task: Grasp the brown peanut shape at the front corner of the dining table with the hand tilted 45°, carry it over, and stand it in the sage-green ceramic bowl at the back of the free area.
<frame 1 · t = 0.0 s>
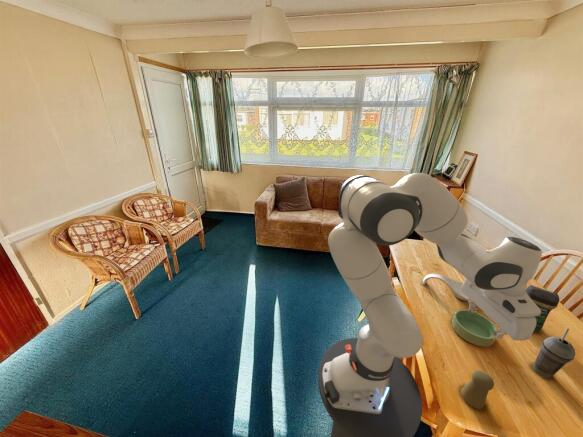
hand: (483, 323, 72), 22 cm above the table, tool pointing down, fingers open, 8 cm apart
beverage cup: (541, 371, 80), on the table
brown peanut shape: (472, 398, 72), on the table
coffee jar: (524, 324, 98), on the table
bowl: (471, 331, 94), on the table
spoon rest: (448, 292, 116), on the table
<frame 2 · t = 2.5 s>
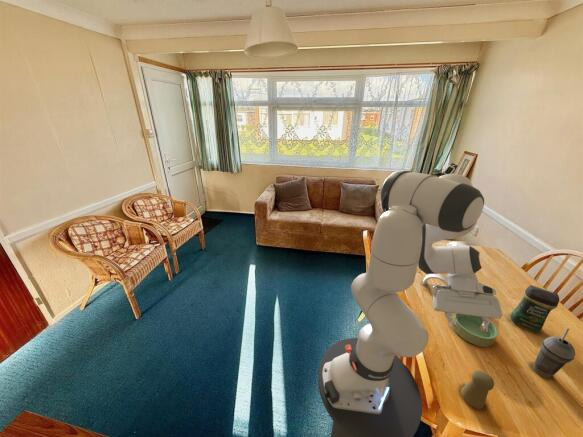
hand: (468, 329, 77), 16 cm above the table, tool tilted 45°, fingers open, 8 cm apart
nothing on the table moved.
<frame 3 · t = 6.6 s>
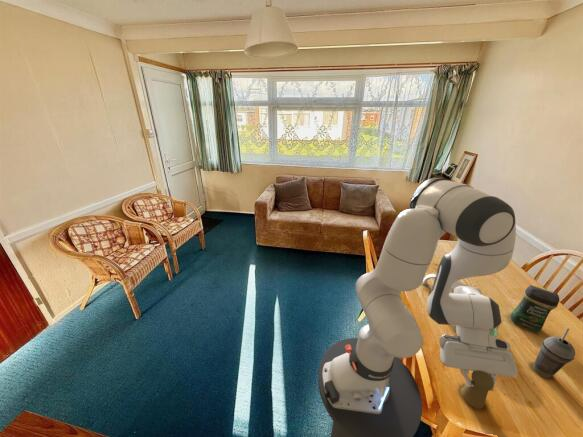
hand: (480, 388, 69), 6 cm above the table, tool tilted 45°, fingers closed on brown peanut shape, 4 cm apart
brown peanut shape: (471, 398, 72), on the table, touching gripper
everything else where it was.
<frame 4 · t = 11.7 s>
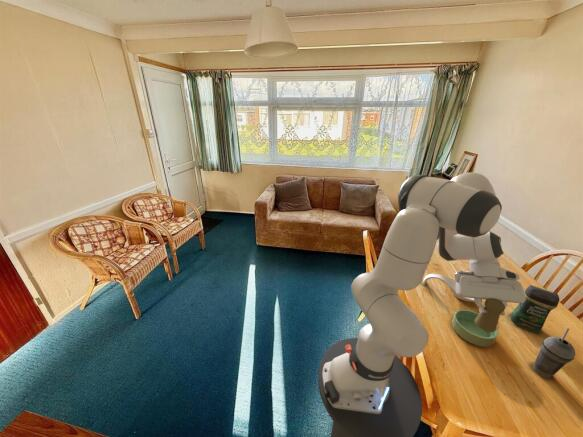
hand: (492, 313, 78), 20 cm above the table, tool tilted 45°, fingers closed on brown peanut shape, 4 cm apart
brown peanut shape: (484, 325, 81), point 14 cm above the table, touching gripper
everything else where it was.
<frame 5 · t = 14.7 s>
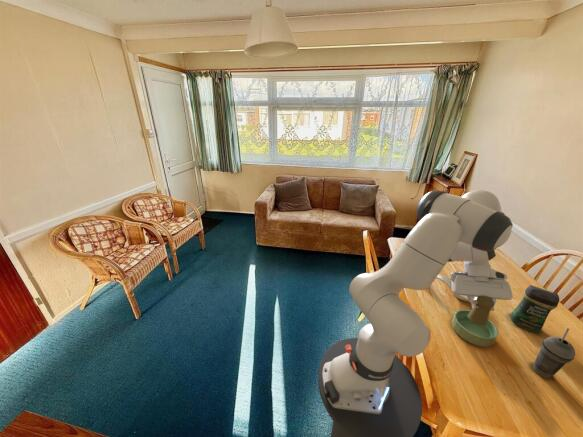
hand: (483, 309, 89), 13 cm above the table, tool tilted 45°, fingers closed on brown peanut shape, 4 cm apart
brown peanut shape: (476, 319, 92), point 7 cm above the table, touching gripper
everything else where it was.
when the fingers open (7 cm above the table, at t = 16.9 s): brown peanut shape stays where it is, resting on bowl.
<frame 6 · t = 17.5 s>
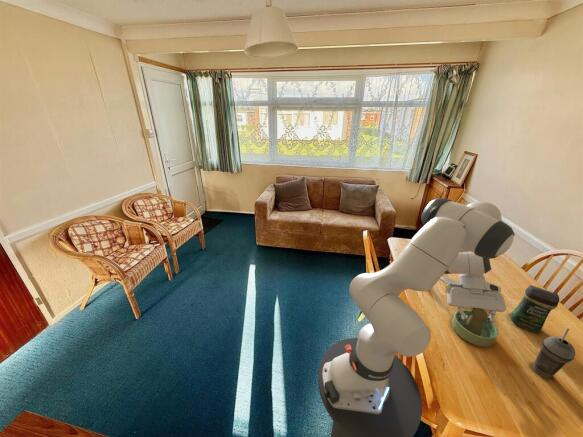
hand: (477, 321, 91), 7 cm above the table, tool tilted 45°, fingers open, 8 cm apart
brown peanut shape: (471, 330, 94), resting on bowl
everything else where it was.
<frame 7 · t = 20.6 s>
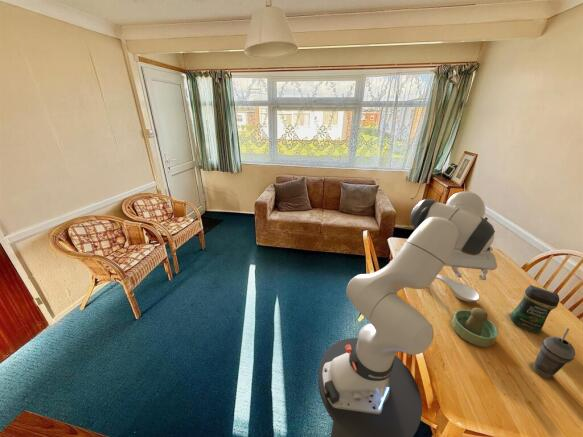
hand: (470, 278, 98), 18 cm above the table, tool tilted 45°, fingers open, 8 cm apart
nothing on the table moved.
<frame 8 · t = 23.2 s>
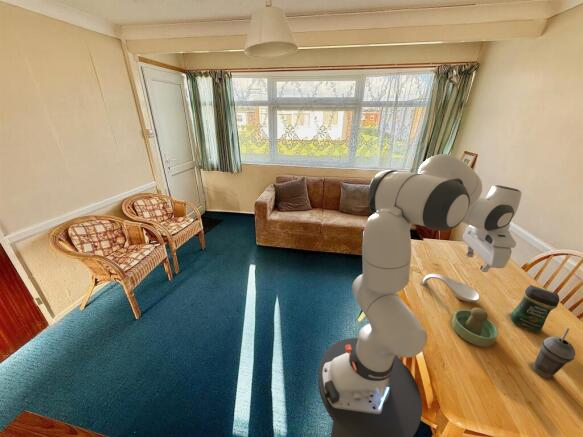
hand: (475, 263, 86), 31 cm above the table, tool pointing down, fingers open, 8 cm apart
nothing on the table moved.
at the end: brown peanut shape inside the target area in the bowl (0.1 cm from its centre), point 0.4 cm above the bowl's base; brown peanut shape tilted 0°; the gripper is holding nothing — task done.
